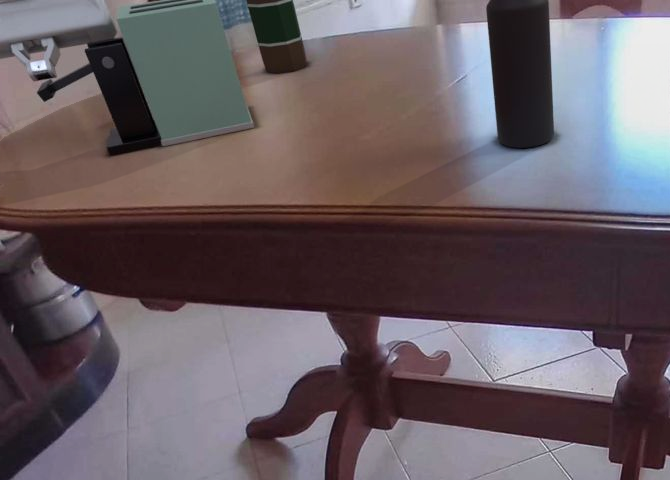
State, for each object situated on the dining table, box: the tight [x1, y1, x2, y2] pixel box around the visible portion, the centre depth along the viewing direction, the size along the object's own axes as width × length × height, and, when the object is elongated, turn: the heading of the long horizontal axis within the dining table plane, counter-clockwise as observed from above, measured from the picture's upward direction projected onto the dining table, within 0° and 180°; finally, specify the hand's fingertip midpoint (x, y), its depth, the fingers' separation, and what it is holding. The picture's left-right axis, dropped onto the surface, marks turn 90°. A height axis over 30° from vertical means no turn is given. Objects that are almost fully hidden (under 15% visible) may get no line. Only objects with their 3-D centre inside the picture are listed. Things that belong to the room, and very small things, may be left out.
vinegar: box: [485, 0, 555, 149], centre depth 78 cm, size 7×7×20 cm
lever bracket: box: [84, 36, 162, 157], centre depth 95 cm, size 8×9×13 cm
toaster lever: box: [36, 43, 114, 103], centre depth 92 cm, size 11×5×2 cm, turn 111°
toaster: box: [115, 0, 255, 147], centre depth 96 cm, size 12×10×16 cm
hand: (43, 77), depth 90 cm, fingers closed
